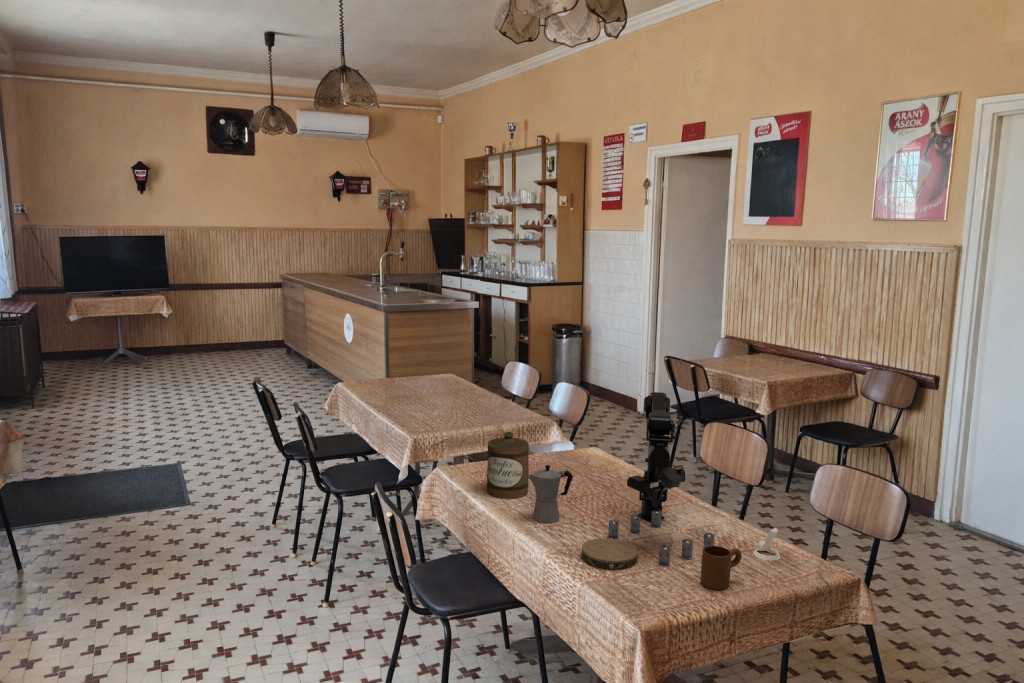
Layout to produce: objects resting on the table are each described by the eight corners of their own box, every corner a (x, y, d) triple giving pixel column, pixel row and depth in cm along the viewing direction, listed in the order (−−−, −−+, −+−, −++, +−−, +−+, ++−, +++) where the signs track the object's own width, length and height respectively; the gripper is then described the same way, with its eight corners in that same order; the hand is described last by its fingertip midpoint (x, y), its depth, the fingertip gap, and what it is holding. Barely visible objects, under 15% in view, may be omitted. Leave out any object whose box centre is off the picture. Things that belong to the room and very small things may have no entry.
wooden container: (480, 495, 267) (482, 435, 264) (494, 483, 281) (496, 425, 278) (520, 501, 263) (522, 439, 260) (533, 488, 277) (535, 429, 274)
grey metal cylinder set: (606, 536, 234) (606, 520, 233) (656, 523, 246) (656, 508, 245) (664, 567, 214) (665, 550, 213) (715, 551, 225) (716, 535, 224)
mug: (729, 573, 211) (732, 541, 209) (748, 585, 204) (751, 552, 202) (694, 580, 206) (696, 547, 204) (712, 592, 199) (714, 558, 198)
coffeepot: (531, 525, 241) (533, 470, 239) (522, 515, 250) (523, 462, 248) (576, 521, 246) (578, 467, 243) (565, 511, 255) (567, 459, 252)
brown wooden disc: (645, 555, 222) (645, 545, 221) (624, 576, 208) (625, 565, 207) (594, 543, 229) (595, 534, 229) (572, 562, 216) (572, 552, 215)
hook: (779, 553, 212) (762, 533, 216) (762, 574, 221) (745, 555, 224) (797, 542, 216) (779, 523, 220) (779, 564, 224) (762, 545, 228)
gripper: (653, 469, 214) (650, 521, 217) (700, 459, 224) (697, 509, 227) (627, 458, 223) (624, 508, 226) (673, 449, 233) (670, 497, 236)
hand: (655, 506), depth 228 cm, fingers closed
